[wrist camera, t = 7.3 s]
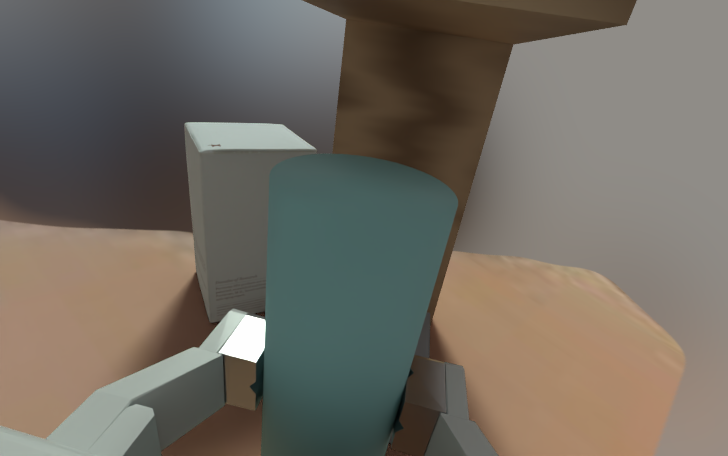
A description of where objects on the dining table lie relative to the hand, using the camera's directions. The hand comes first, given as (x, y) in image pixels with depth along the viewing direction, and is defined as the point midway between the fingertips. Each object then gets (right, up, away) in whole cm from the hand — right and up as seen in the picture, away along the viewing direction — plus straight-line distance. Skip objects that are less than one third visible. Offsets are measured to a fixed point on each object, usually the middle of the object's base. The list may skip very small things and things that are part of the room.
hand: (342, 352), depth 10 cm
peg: (-1, -6, +2) cm, 7 cm away
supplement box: (-9, -1, +20) cm, 22 cm away
